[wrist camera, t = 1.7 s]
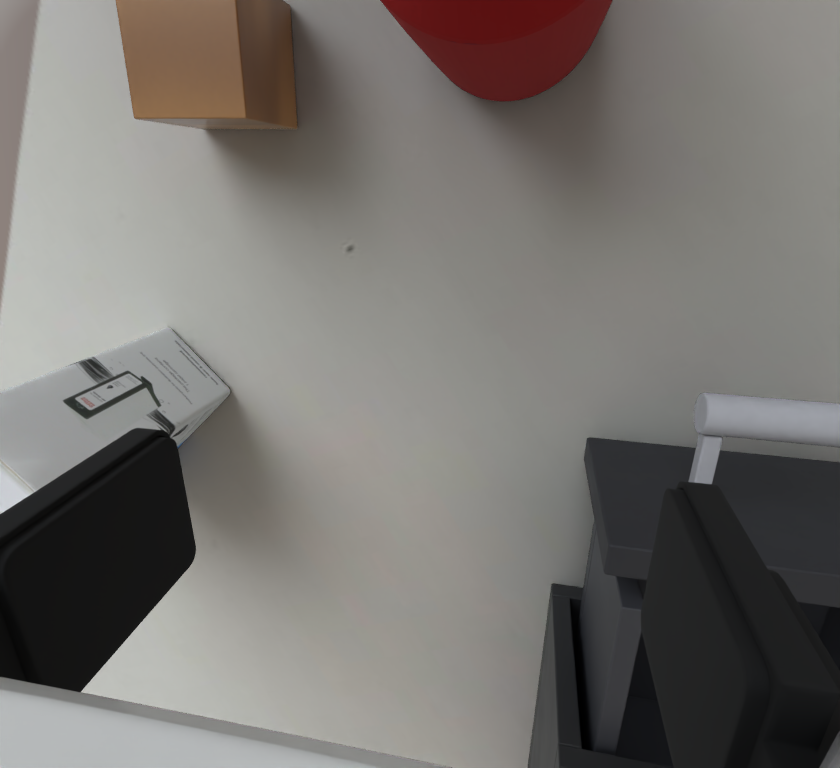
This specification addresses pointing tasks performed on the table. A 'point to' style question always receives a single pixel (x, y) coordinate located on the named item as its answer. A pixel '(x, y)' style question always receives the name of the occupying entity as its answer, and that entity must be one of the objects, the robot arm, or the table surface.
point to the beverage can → (502, 40)
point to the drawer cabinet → (564, 695)
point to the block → (210, 62)
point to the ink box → (101, 408)
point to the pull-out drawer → (636, 530)
